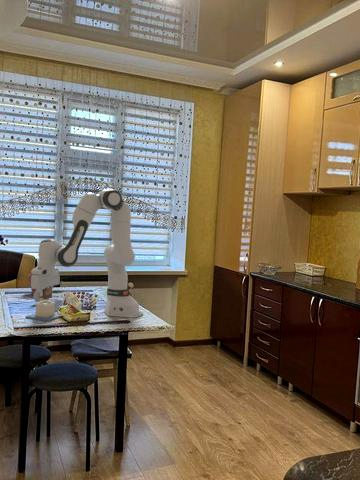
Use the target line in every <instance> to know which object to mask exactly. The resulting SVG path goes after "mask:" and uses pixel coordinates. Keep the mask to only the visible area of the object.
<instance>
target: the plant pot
mask: <svg viewBox="0 0 360 480" xmlns="http://www.w3.org/2000/svg"><path fill="white" fill-rule="evenodd" d="M32 275H33V274H32V273H30V274H28V275H27V276H28V277H27V279H28V281H29V284H30V289H31V290H30V291H31V294H33V295H34V293H35V291H36V290H37V289H32V287H31V276H32ZM44 288H49V287H44Z"/></svg>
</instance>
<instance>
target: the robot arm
mask: <svg viewBox="0 0 360 480" xmlns="http://www.w3.org/2000/svg"><path fill="white" fill-rule="evenodd" d="M100 209H105V210H106V209H107V210H110V213H111V218H110V220H111V221H110V237H111V239H112V244H110V245H108V246H106V247H105V248H104V251H103V255H104V258H105V261H106V262H105V263H106V267H107V274H108V275H107V276H108V277H107V280H108V281H107V289H106V297H107V298H106V304H105V308H104V310H103V313H104V314H105V315H106V316H108V317H109V316H111V317H120V318H121V317H122V318H130V319H134V318H138V317H140V316H142V315H144V312H143V311H142V310H140V305H139V303H138V301H136V300H135V299H134V298H133V297H132V296H131V295H130V294H131V292H132V290H131V289H128V281H129V280H128V278H129V277H128V272H127V270H126V266H130V265H132V264H133V263H134V261H135V259H136V256H135V252H134V251H133V246H132V240H131V220H132V217H131V215H132V213H131V207H130V204H129V203H127V202H124V199H123V198H122V195H121V193H120V192H119V191H118V190H117V189H115V188H114V189H113V188H106V189H101V190H99V191H97V192H96V193H92V192H87V193H85V194H84V195H83V196H82V197H81V199H80V200H79V201H78V203H77V205H76V207H75V209H74V211H73V214H72V218H71V221H72V224H73V231H72V233H71V235H70V238H69V239H68V242H67V244H66V245H65V244H62V243H60V242H58V241H57V240H55V239H54V238H48V239H46V238H45V239H42V240H41V241H40V242H39V245H38V263H37V266H36V267H33V269H31V271H30V272H31V273H30V274H33V275H32V276H31V285H30V288H31V287H32V289H38V291H39V293H40V294H39V295H40V296H44V293H43V291H42V290H43V288H44V287H48V288H52V290H53V289H54V286H57V285H60V282H61V280H60V279H61V278H60V271H59V269H58V267H56V263H59V265H61V266H63V267H67V268H69V267H72V266H74V265H75V264H76V263H77V262H78V257H79V250H80V247H81V245H82V242H83V240H84V238H85V236H86V233H87V231H88V229H89V227H90V225H91V224H92V222H93V220H94V218H95V216H96V215H97V212H98V211H99V210H100Z"/></svg>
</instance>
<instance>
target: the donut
mask: <svg viewBox="0 0 360 480" xmlns="http://www.w3.org/2000/svg"><path fill="white" fill-rule="evenodd" d="M33 300H34V301H35V303H37V302H40V301H44V300H45V301H50V298H49V299H41V298H39V291H38V289H37V290H36V291H35V293H34V294H33Z"/></svg>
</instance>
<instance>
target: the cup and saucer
mask: <svg viewBox="0 0 360 480" xmlns="http://www.w3.org/2000/svg"><path fill="white" fill-rule="evenodd" d="M55 309H56V301H53V300H51V301H50V300H48V301H45V300H44V301H40V302H35V313H31V314H29V315H26V316H25V319H29V320H36V321H41V322H45V323H48V322H51V321H54V320H56V319H60V318H61V317H60V315H59V314H60V313H59V314H58V312H55V311H56V310H55Z"/></svg>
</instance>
